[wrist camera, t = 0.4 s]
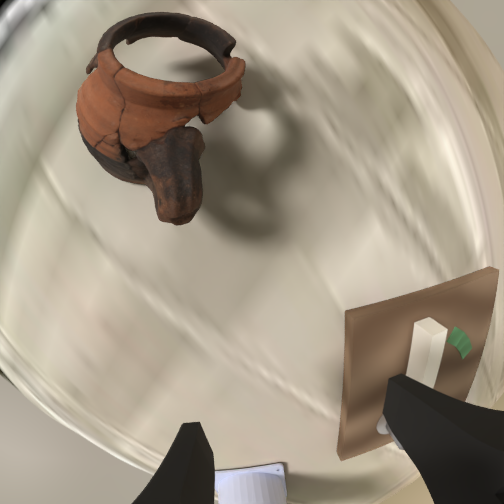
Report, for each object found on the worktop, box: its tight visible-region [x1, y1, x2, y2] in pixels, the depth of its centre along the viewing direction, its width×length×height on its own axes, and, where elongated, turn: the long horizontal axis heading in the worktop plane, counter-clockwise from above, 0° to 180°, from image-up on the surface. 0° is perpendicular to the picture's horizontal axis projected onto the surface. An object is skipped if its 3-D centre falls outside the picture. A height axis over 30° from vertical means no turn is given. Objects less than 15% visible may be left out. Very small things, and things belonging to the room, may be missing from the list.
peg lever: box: [386, 317, 448, 450], centre depth 18 cm, size 13×4×3 cm, turn 8°
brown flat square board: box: [337, 266, 499, 461], centre depth 21 cm, size 18×18×2 cm
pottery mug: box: [76, 12, 245, 225], centre depth 13 cm, size 12×10×8 cm
